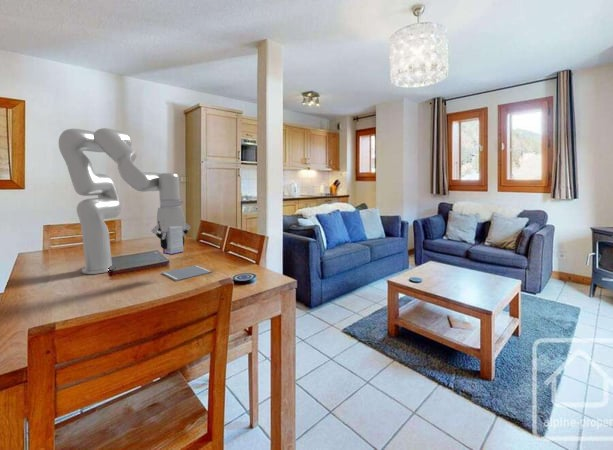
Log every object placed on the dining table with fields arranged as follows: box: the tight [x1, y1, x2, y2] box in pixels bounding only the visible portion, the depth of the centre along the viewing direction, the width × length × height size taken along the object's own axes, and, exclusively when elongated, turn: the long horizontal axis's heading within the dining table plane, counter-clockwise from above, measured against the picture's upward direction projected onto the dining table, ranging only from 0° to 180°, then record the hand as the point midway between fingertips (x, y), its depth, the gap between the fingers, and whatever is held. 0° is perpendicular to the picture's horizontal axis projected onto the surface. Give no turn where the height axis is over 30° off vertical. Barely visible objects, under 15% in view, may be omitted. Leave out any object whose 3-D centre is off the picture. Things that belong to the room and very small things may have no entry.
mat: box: [161, 264, 213, 282], centre depth 131 cm, size 14×16×1 cm
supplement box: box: [162, 226, 184, 256], centre depth 125 cm, size 6×6×12 cm
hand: (173, 246), depth 125 cm, fingers closed on supplement box, 6 cm apart
